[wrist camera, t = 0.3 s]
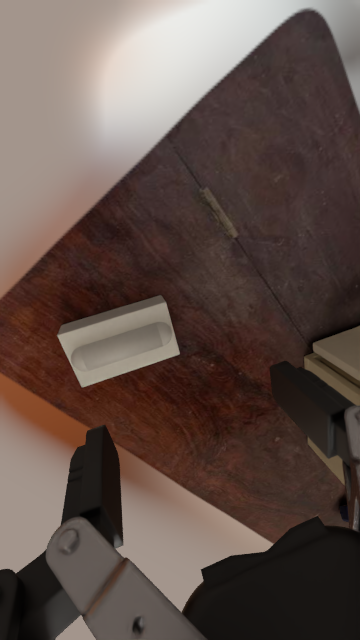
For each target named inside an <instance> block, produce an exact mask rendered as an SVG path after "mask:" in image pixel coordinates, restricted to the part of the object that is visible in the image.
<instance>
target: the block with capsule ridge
mask: <svg viewBox="0 0 360 640" xmlns="http://www.w3.org/2000/svg"><path fill="white" fill-rule="evenodd" d="M57 336H58V338H59V340H60V343H61V345H62V347H63V349H64V351H65V353H66V355H67V357H68V359H69V361H70V364H71V366H72V368H73V370H74V372H75V374H76V376H77V378H78V380H79V382H80V385H81V387H85V386H88V385H91V384H94V383H97V382H100V381H103V380H106V379H109V378H111V377H114V376H117V375H120V374H123V373H126V372H129V371H132V370H135V369H138V368H141V367H144V366H147V365H150V364H153V363H156V362H159V361H162V360H164V359H167V358H170V357H173V356H176V355H179V354H180V352H179V348H178V345H177V341H176V337H175V334H174V330H173V326H172V322H171V319H170V315H169V311H168V308H167V304H166V301H165V300H164V299H163V297H162V296H161V295H159V296H156V297H152V298H149V299H146V300H143V301H139V302H136V303H133V304H129V305H126V306H123V307H119V308H116V309H113V310H110V311H106V312H103V313H100V314H96V315H93V316H90V317H87V318H83V319H80V320H77V321H73V322H70V323H67V324H63V325H61V328H60V330H59V332H58V335H57Z"/></svg>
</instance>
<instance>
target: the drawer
mask: <svg viewBox="0 0 360 640" xmlns="http://www.w3.org/2000/svg"><path fill="white" fill-rule="evenodd" d="M313 351H314V352H316V353H317V354H319V355H320V356H322V357H323V359H320V362H321V363H323V364H324V365H326V366H327V367H329V368H330V369H331V370H333V371H334V372H336V373H337V374H339V375H340V376H342V377H343V378H345V379H346V380H348V381H349V382H351V383H352V384H354V385H355V386H356V387H358V388H359V389H360V326H358V327H356V328H353V329H350V330H347V331H344V332H342V333H339V334H336V335H333V336H331V337H328V338H325V339H322V340H319V341H317V342H314V343H313Z"/></svg>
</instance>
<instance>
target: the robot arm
mask: <svg viewBox="0 0 360 640" xmlns="http://www.w3.org/2000/svg"><path fill="white" fill-rule="evenodd" d="M270 376H271V386H272V393H273V396H274V399H275V400H276V402H277V403H278V405H279V406H280V407H281V408H282V409H283V410H284V411H285V412H286V413H287V414H288V416H289V417H290V418H291V419H292V420H293V421H294V422H295V423H296V424H297V425H298V426H299V428H300V429H301V430H302V431H303V432H304V433H305V434H306V435H307V436H308V437H309V438H310V440H311V441H312V442H313V443H314V444H315V445H316V446H317V447H318V448H319V449H320V450H321V452H322V453H323V454H324V455H325V456H326V457H327V458H328V459H330V458H332V457H334V456H337V455H338V456H339V457H340V458H341V459H342V466H343V474H344V482H345V489H346V497H347V505H348V514H349V528H345V527H340V526H324V524H323V523H322V521H321V520H320V519H319V517H318V516H317V517H314V518H312V519H310V520H308V521H306V522H303V523H301V524H299V525H297V526H295V527H293V528H290V529H289V530H288V531H287V532H286V533H285V534H284V535H283V536H282V537H281V538H280V539H279V540H278V541H277V542H276V543H275V544H274V545H273V546H272V547H271V548H270V549H268V550H267V551H265V552H260V553H251V554H242V555H234V556H229V557H228V558H225V559H223V560H221V561H219V562H216V563H214V564H212V565H210V566H208V567H205V568H203V569H201V571H202V576H203V579H204V581H203V582H202V583H201V584H200V585H199V586H198V587H197V588H196V589H195V591H194V592H193V593H192V595H191V596H190V598H189V599H188V601H187V602H186V604H185V607H184V609H183V611H182V612H180V611H179V610H178V609H177V608H176V607H175V606H174V605H173V604H172V603H171V602H170V601H169V600H168V599H167V598H166V597H165V596H164V594H163V593H162V592H161V591H160V590H159V589H158V588H157V587H156V586H155V585H154V584H153V583H152V582H151V581H150V580H149V579H148V578H147V577H146V576H145V575H144V574H143V573H142V572H141V571H140V570H139V569H138V568H137V567H136V565H135V564H134V563H132V562H131V561H130V560H129V559H128V558H124V557H122V556H121V555H120V554H119V553H118V552H117V550H116V548H118V547H120V546H122V545H123V527H122V506H121V486H120V464H119V458H118V453H117V450H116V447H115V445H114V443H113V441H112V438H111V436H110V434H109V432H108V429H107V427H106V426H105V425H102V426H99V427H96V428H94V429H91V430H88V431H87V434H86V444H85V445H83V446H80V447H78V448H77V449H76V451H75V453H74V455H73V457H72V459H71V462H70V469H69V472H70V473H69V476H68V484H67V489H66V495H65V502H64V509H63V515H62V521H61V526H60V527H59V528H58V529H57V530H56V531H55V533H54V534H53V536H52V537H51V539H50V541H49V543H48V546H47V549H46V550H45V551H44V552H43V553H42V554H41V555H40V556H39V557H37V558H36V559H35V560H33V561H32V562H31V563H29V564H28V565H27V566H25V567H24V568H23V569H22V570H20V571H19V572H17V573H16V574H15V572H13V571H12V570H10V569H3V570H0V640H55V638H56V637H57V636H58V635H59V634H60V633H62V632H63V631H64V630H65V629H66V628H67V627H68V626H69V625H70V624H71V623H73V622H74V620H76V619H77V618H78V617H79V616H80V615H82V617H83V620H84V621H85V623H86V625H87V626H88V628H89V629H90V631H91V632H92V634H93V635H94V637H95V638H96V640H360V405H357V406H356V405H355V404H354V403H352V402H351V401H350V400H348V399H347V398H346V397H344V396H343V395H342V394H340V393H339V392H338V391H336V390H335V389H334V388H333V387H331V386H330V385H328V384H327V383H326V382H325V381H323V380H321V379H320V378H319V377H318V376H317V375H315V374H314V373H313V372H311V371H308V370H306V369H303V368H297V369H296V368H295V367H294V366H292V365H291V364H290V363H289V362H287V361H284V362H281V363H278V364H275V365H272V366H271V367H270Z"/></svg>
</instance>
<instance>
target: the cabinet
mask: <svg viewBox="0 0 360 640" xmlns="http://www.w3.org/2000/svg"><path fill="white" fill-rule="evenodd" d="M320 359H323V357H322V356H320V355H319V354H317V353H316V352H314V353H312V354H309V355H306V356H304V367H305V369H306V370H308V371H311V372H313V373H314V374H315V375H317V376H318V377H319V378H320V379H321V380H323V381H325V382H326V383H327V384H328V385H330V386H331V387H333V388H334V389H335V390H336V391H338V392H339V393H340V394H342V395H343V396H344V397H346V398H347V399H348V400H350V401H351V402H352V403H354V404H355V405H356V406H357V405H360V389H359V388H358V387H356V386H355V385H354V384H352V383H351V382H349V381H348V380H346V379H345V378H343V377H342V376H340V375H339V374H337V373H336V372H334V371H333V370H331V369H330V368H329V367H327V366H326V365H324V364H323V363H321V362H320ZM308 445H309V446H310V447H311V448H312V449H313V450H314V451H315V452H316V454H317V455H318V456H319V457H320V458H321V459H322V460H323V461H324V463H325V464H326V465H327V466H328V467H329V468H330V469H331V471H332V472H333V473H334V474H335V475H336V476H337V477H338V478H339V480H340V481H341V482H342V483H343V484H344V485H345V482H344V474H343V466H342V459H341V458H340V457H339V456H338V455H337V456H334V457H332V458H330V459H328V458H327V457H326V456H325V455H324V454H323V453H322V452H321V450H320V449H319V448H318V447H317V446H316V445H315V444H314V443H313V442H312V441H311V440H310V438H309V437H308Z"/></svg>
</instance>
